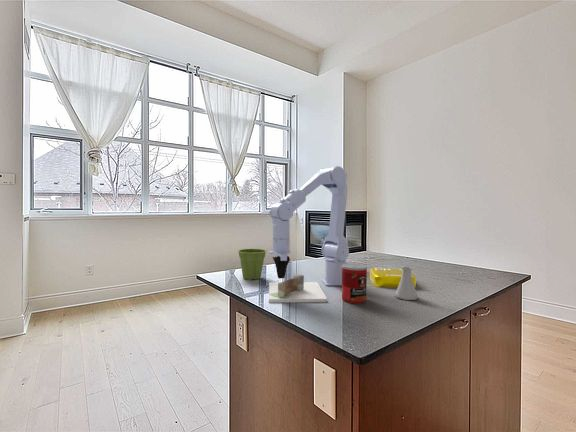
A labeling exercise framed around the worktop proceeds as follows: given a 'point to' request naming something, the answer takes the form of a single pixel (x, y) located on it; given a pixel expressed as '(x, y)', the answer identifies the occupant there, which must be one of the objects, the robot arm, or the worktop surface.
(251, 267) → the plant pot
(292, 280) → the brown bar
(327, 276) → the robot arm
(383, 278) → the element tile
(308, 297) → the dial plate
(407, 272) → the flask
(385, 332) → the worktop surface
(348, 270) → the canned food
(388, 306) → the worktop surface
